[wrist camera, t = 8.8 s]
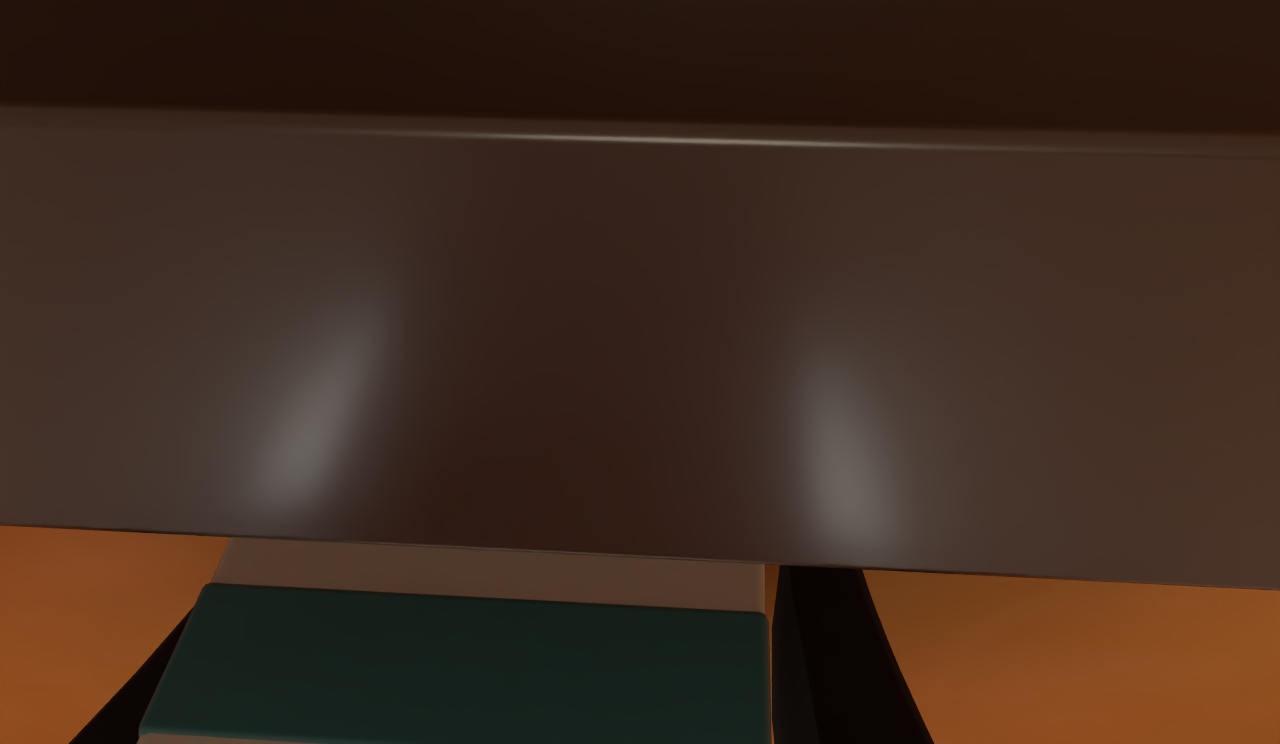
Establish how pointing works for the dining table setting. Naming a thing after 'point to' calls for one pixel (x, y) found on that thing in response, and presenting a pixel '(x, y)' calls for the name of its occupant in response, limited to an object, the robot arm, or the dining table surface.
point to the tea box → (466, 649)
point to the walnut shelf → (652, 279)
